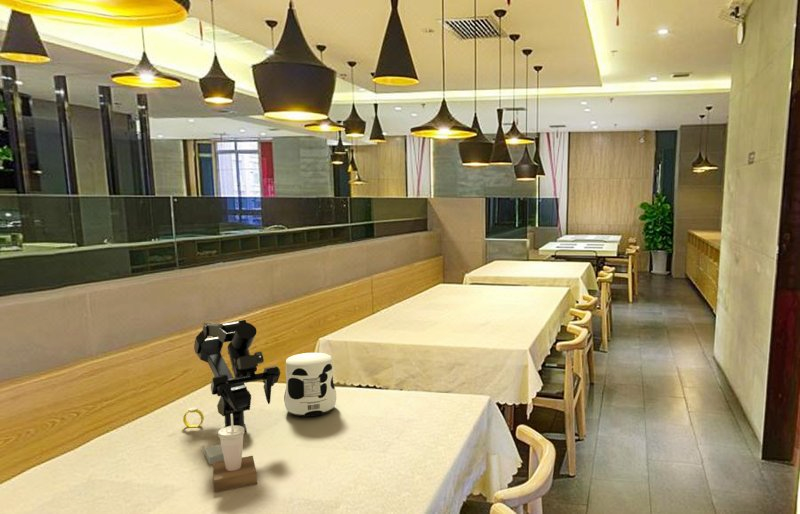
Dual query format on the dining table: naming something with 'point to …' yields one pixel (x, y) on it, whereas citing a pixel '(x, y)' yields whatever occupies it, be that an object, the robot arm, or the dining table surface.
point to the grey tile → (214, 453)
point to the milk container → (309, 384)
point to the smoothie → (232, 445)
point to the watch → (193, 411)
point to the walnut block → (234, 475)
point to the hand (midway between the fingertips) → (252, 406)
